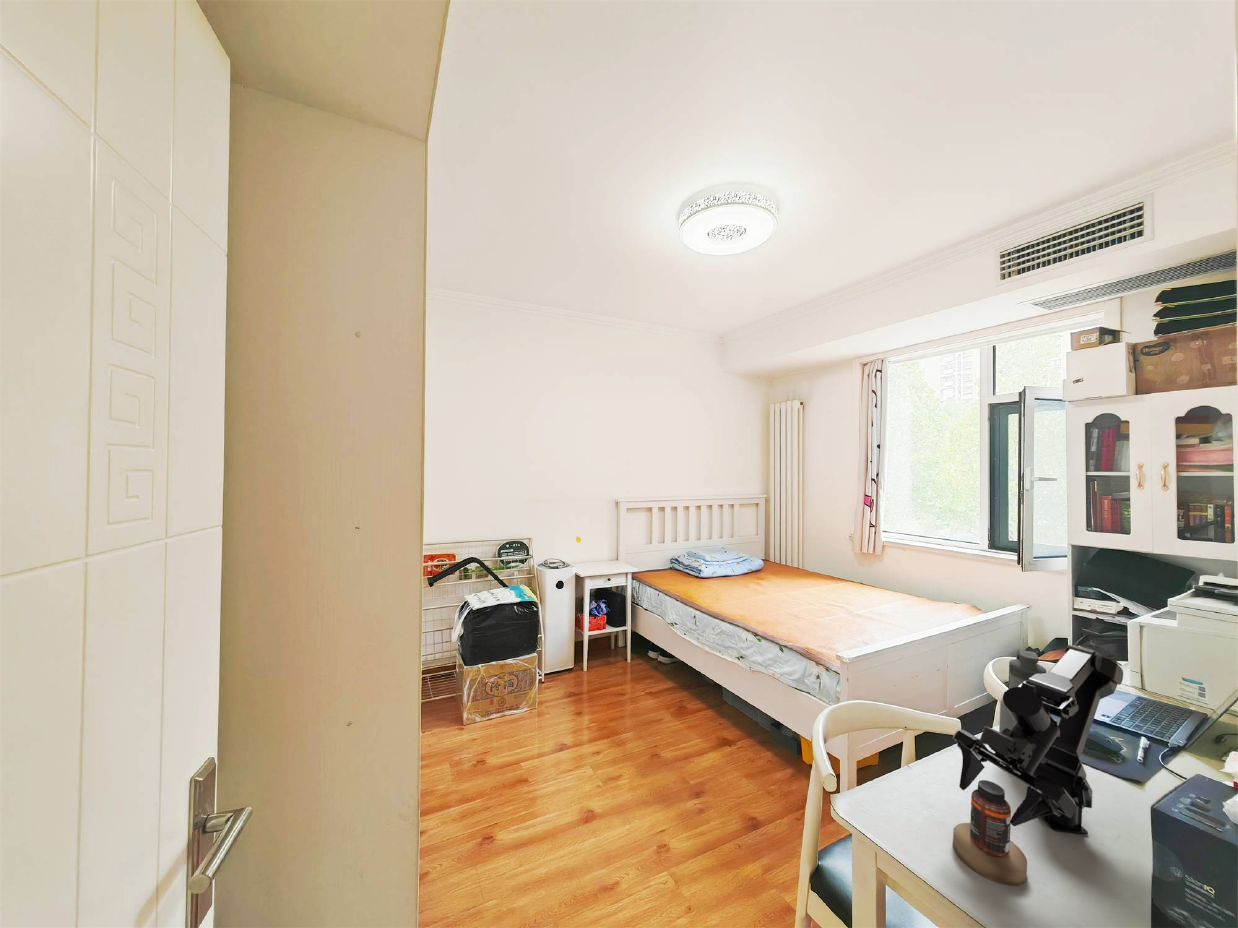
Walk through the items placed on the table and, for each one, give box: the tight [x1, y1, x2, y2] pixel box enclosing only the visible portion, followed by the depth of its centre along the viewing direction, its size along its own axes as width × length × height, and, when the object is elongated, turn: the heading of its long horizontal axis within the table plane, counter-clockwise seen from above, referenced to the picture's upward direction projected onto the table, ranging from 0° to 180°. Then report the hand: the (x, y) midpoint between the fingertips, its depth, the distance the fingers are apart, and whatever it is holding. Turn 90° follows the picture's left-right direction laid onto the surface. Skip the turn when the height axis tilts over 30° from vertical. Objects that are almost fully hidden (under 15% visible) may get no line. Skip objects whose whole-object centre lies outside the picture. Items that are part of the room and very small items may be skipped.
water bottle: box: [998, 648, 1053, 733], centre depth 117 cm, size 10×10×28 cm
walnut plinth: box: [952, 822, 1028, 886], centre depth 88 cm, size 11×11×2 cm
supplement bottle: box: [969, 779, 1012, 857], centre depth 88 cm, size 6×6×11 cm
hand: (985, 805), depth 88 cm, fingers open, 9 cm apart
